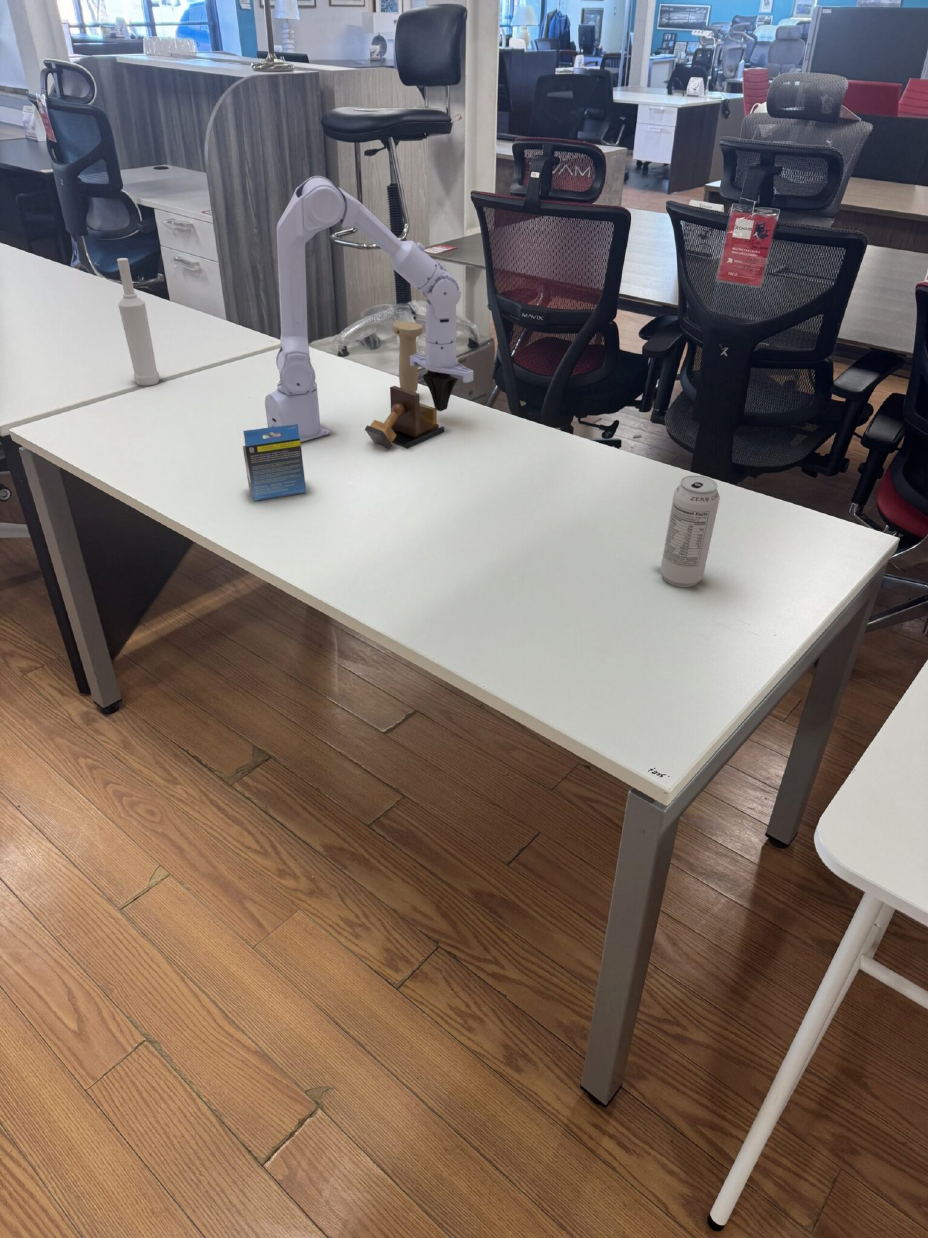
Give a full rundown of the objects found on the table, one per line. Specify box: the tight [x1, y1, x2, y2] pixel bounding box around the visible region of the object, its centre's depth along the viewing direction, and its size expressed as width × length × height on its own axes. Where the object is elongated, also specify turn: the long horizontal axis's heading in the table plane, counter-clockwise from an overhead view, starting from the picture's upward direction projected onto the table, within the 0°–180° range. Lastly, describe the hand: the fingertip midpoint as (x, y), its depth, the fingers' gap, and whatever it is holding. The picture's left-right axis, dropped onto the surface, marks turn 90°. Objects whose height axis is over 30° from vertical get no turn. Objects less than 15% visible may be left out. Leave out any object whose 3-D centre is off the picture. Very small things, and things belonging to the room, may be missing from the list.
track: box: [391, 426, 445, 449], centre depth 161 cm, size 10×8×1 cm
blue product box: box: [242, 424, 307, 502], centre depth 138 cm, size 9×4×12 cm, turn 111°
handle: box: [391, 320, 423, 393], centre depth 173 cm, size 5×6×15 cm
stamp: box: [364, 403, 405, 450], centre depth 156 cm, size 8×4×7 cm, turn 140°
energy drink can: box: [660, 475, 721, 588], centre depth 117 cm, size 6×6×15 cm
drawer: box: [389, 385, 440, 438], centre depth 160 cm, size 7×6×8 cm
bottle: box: [116, 257, 160, 387], centre depth 175 cm, size 5×5×25 cm
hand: (441, 409), depth 166 cm, fingers closed
